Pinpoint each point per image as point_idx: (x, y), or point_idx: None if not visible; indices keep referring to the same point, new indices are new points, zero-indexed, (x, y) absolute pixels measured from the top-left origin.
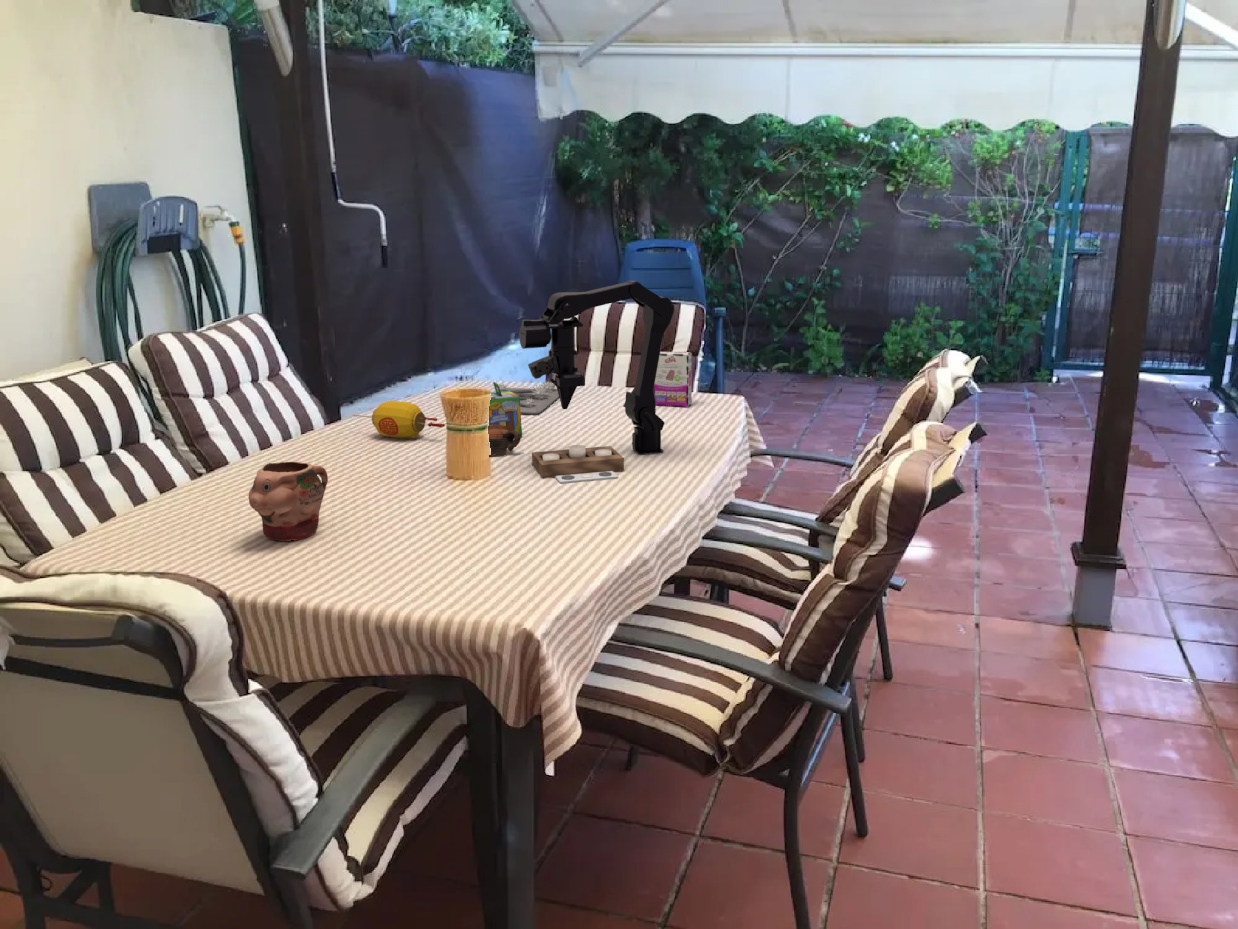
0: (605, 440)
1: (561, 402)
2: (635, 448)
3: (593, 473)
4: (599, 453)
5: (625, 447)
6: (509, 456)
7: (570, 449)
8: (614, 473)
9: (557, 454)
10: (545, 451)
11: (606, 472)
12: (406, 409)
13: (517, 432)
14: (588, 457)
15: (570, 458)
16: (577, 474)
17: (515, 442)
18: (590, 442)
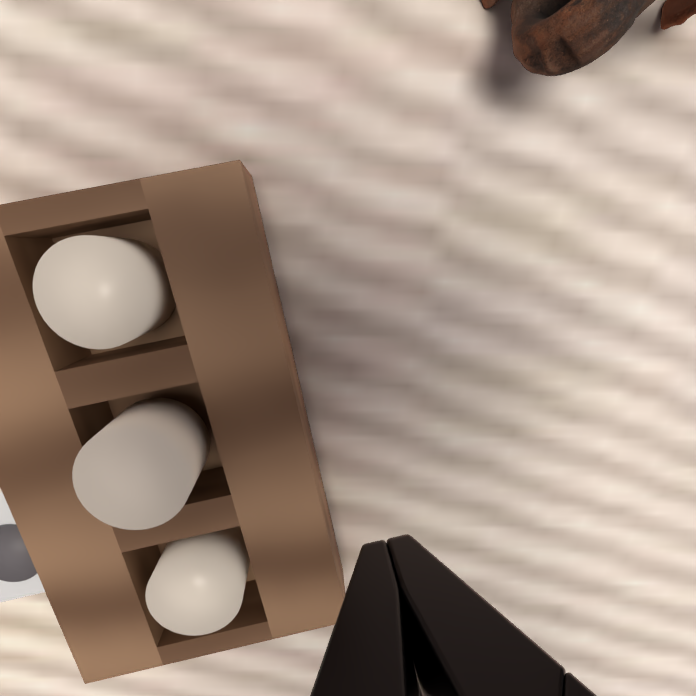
0: (663, 551)
1: (374, 607)
2: (419, 688)
3: None
4: (151, 576)
5: (521, 628)
6: (463, 33)
7: (96, 434)
8: (37, 590)
9: (121, 337)
10: (256, 258)
11: None
12: None
13: (592, 25)
14: None
15: (126, 409)
16: None
17: (515, 38)
18: (647, 486)
